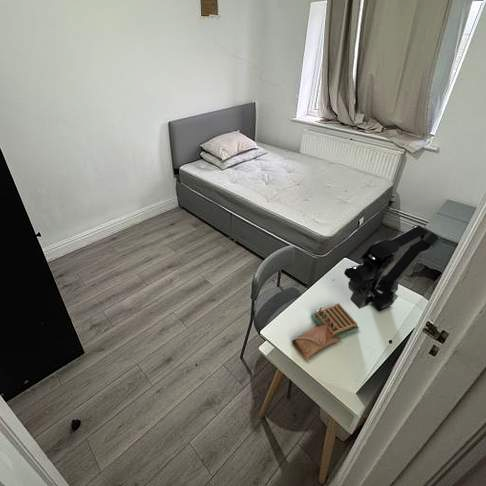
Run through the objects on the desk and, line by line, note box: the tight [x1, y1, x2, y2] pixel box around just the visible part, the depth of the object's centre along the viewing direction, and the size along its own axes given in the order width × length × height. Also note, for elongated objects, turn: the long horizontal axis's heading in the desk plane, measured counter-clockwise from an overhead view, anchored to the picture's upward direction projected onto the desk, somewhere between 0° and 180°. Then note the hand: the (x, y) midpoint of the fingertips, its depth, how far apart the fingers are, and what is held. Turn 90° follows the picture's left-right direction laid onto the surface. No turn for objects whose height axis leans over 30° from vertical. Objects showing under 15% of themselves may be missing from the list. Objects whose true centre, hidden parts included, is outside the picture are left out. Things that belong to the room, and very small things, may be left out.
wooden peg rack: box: [311, 302, 360, 339], centre depth 115 cm, size 13×12×8 cm
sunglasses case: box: [291, 321, 342, 361], centre depth 110 cm, size 18×7×7 cm, turn 118°
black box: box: [349, 292, 372, 310], centre depth 113 cm, size 6×5×6 cm
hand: (361, 300), depth 114 cm, fingers closed on black box, 5 cm apart
